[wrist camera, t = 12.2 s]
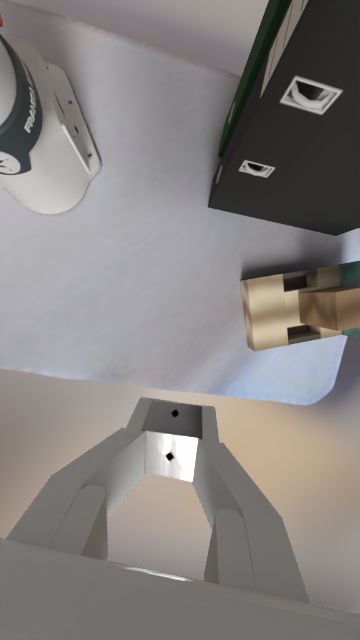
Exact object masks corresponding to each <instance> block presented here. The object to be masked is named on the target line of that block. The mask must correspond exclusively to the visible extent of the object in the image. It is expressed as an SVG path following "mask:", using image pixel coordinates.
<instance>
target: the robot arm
mask: <svg viewBox="0 0 360 640" xmlns="http://www.w3.org/2000/svg"><path fill="white" fill-rule="evenodd" d="M1 26H3V21H2V18H1V15H0V27H1ZM89 155H92V156H91V157H89ZM100 169H101V161H100V159H99V156H98V154H97V151H96V149H95V146H94V144H93V141H92V138H91V136H90V133H89V131H88V128H87V126H86V123H85V121H84V118H83V115H82V113H81V110H80V108H79V105H78V103H77V100H76V98H75V95H74V92H73V90H72V87H71V85H70V82H69V80H68V78H67V76H66V74H65V72H64V71H63V70H62V69H61V68H59V67H58V66H56V65H54V64H51V63H49V62H45V61H43V60H42V58H41V56H40V54H39V53H38V51H37V50H36V49H35V47H33V46H32V45H31V44H30V43H28V42H26V41H25V40H22V39H20V38H17V37H13V36H8V35H1V34H0V187H1V188H3V189H5V190H7V191H8V192H9V193H10V194H11V195H12V196H13V197H14V198H15V199H16V200H17V201H18V202H20V203H21V204H22V205H24V206H25V207H27V208H29V209H31V210H33V211H36V212H39V213H44V214H57V213H61V212H64V211H67V210H69V209H71V208H72V207H74V206H75V205H76V204H77V203H78V202H79V201H80V200H81V198H82V197H83V195H84V194H85V191H86V189H87V186H88V184H89V182H90V180H91V179H92V178H93V177H94V176H95V175H96V174H97V173H98V172H99V170H100ZM144 474H152V475H160V476H166V477H172V478H177V479H182V480H187V481H192V484H193V486H194V488H195V491H196V493H197V496H198V498H199V500H200V503H201V505H202V508H203V510H204V512H205V515H206V517H207V520H208V522H209V524H210V527H211V529H212V534H211V540H210V545H209V550H208V556H207V561H206V566H205V571H204V581H202V580H197V579H192V578H188V577H183V576H178V575H173V574H169V573H164V572H159V571H154V570H150V569H145V568H140V567H135V566H130V565H125V564H121V563H116V562H112V561H107V557H108V537H107V519H108V518H109V517H110V515H111V514H112V513H113V512H114V511H115V509H116V508H117V507H118V506H119V504H120V503H121V502H122V501H123V500H124V499H125V497H126V496H127V495H128V494H129V492H130V491H131V490H132V489H133V487H134V486H135V485H136V484H137V483H138V482H139V481H140V479H141V478H142V477H143V476H144ZM0 640H360V614H359V613H353V612H349V611H345V610H340V609H335V608H330V607H325V606H321V605H316V604H311V603H310V601H309V598H308V595H307V592H306V589H305V586H304V583H303V580H302V577H301V574H300V571H299V568H298V565H297V562H296V559H295V556H294V552H293V549H292V547H291V543H290V541H289V538H288V534H287V531H286V528H285V525H284V522H283V519H282V517H281V516H280V515H279V513H278V512H277V511H276V510H275V508H274V507H273V506H272V505H271V503H270V502H269V501H268V499H267V498H266V497H265V495H264V494H263V493H262V492H261V490H260V489H259V488H258V487H257V485H256V484H255V483H254V482H253V480H252V479H251V478H250V476H249V475H248V474H247V473H246V471H245V470H244V469H243V468H242V466H241V465H240V464H239V462H238V461H237V460H236V459H235V457H234V456H233V455H232V454H231V452H230V451H229V450H228V448H227V447H226V446H225V445H224V444H223V443H219V437H218V429H217V421H216V412H215V407H213V406H204V405H202V406H201V405H193V404H185V403H178V402H172V401H166V400H160V399H152V398H146V397H141V398H140V399H139V401H138V403H137V405H136V408H135V410H134V412H133V414H132V416H131V418H130V421H129V423H128V425H127V427H126V428H121V429H119V430H118V431H116V432H115V433H114V434H112V435H111V436H109V437H108V438H106V439H105V440H104V441H102V442H100V443H99V444H97V445H96V446H94V447H93V448H92V449H90V450H89V451H87V452H86V453H84V454H83V455H81V456H80V457H78V458H77V459H75V460H74V461H72V462H71V463H70V464H68V465H67V466H65V467H64V468H62V469H61V470H59V471H58V472H56V473H55V474H53V475H52V476H51V477H50V478H49V480H48V481H47V482H46V484H45V485H44V487H43V488H42V489H41V491H40V492H39V494H38V495H37V496H36V498H35V499H34V501H33V502H32V503H31V505H30V506H29V507H28V509H27V510H26V511H25V513H24V514H23V516H22V517H21V518H20V520H19V521H18V522H17V524H16V525H15V526H14V528H13V529H12V531H11V532H10V533H9V535H8V536H7V537H6V539H2V538H0Z"/></svg>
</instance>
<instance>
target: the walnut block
mask: <svg viewBox="0 0 360 640" xmlns="http://www.w3.org/2000/svg"><path fill="white" fill-rule="evenodd" d="M298 300H299V314H300V323H301V324H306V325H311V326H316V327H321V328H326V329H331V330H336V331H339V330H345V329H350V328H355V327H360V285H353V286H336V287H330V288H324V289H318V290H312V291H307V292H301V293H298Z"/></svg>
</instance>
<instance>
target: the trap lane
mask: <svg viewBox="0 0 360 640" xmlns="http://www.w3.org/2000/svg"><path fill="white" fill-rule="evenodd" d="M240 282H241V291H242V300H243V308H244V317H245V325H246V334H247V343H248V347H249V348H250V349H252V350H254V351H259V350H264V349H269V348H275V347H280V346H285V345H290V344H295V343H301V342H306V341H311V340H316V339H322V338H327V337H332V336H337V335H346V336H351V337H355V338H360V327H355V328H350V329H345V330H339V331H336V330H331V329H326V328H321V327H316V326H311V325H306V324H301V323H300V314H299V300H298V293H301V292H307V291H312V290H318V289H324V288H330V287H336V286H353V285H360V261H356V262H350V263H345V264H339V265H333V266H327V267H321V268H315V269H309V270H303V271H297V272H291V273H285V274H278V275H272V276H266V277H260V278H254V279H248V280H243V281H240Z"/></svg>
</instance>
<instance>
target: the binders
mask: <svg viewBox="0 0 360 640" xmlns="http://www.w3.org/2000/svg"><path fill="white" fill-rule="evenodd" d="M218 157H222V160H221V162H220V165H219V167H218V169H217V172H216V174H215V176H214V179H213V184H212V189H211V194H210V199H209V204H208V207H209V208H213V209H218V210H222V211H227V212H231V213H236V214H240V215H245V216H249V217H254V218H258V219H263V220H267V221H272V222H276V223H281V224H285V225H290V226H294V227H299V228H303V229H308V230H312V231H317V232H321V233H326V234H330V235H335V236H337V235H340V234H342V233H345V232H348V231H351V230H354V229H357V228H360V0H269V2H268V5H267V7H266V10H265V13H264V16H263V19H262V21H261V25H260V27H259V30H258V32H257V35H256V38H255V41H254V44H253V46H252V49H251V52H250V55H249V58H248V61H247V63H246V66H245V69H244V72H243V75H242V77H241V80H240V83H239V86H238V88H237V91H236V94H235V97H234V100H233V102H232V105H231V108H230V111H229V114H228V116H227V119H226V122H225V125H224V129H223V134H222V139H221V144H220V149H219V154H218Z"/></svg>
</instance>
